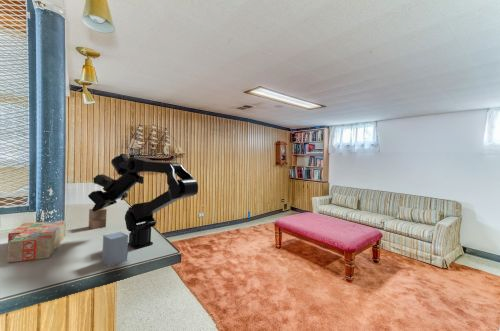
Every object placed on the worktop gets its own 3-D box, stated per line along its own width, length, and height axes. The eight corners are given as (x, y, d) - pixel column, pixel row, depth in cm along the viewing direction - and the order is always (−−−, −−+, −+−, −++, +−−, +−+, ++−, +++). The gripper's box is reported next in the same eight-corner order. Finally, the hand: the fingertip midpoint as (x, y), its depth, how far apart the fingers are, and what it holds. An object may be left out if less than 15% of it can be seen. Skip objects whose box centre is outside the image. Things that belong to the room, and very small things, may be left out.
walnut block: (101, 224, 105) (101, 207, 105) (105, 226, 102) (106, 209, 102) (88, 226, 101) (89, 209, 101) (93, 229, 98) (93, 211, 98)
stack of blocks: (50, 238, 69) (-8, 243, 63) (49, 258, 69) (-8, 265, 63) (66, 220, 88) (23, 223, 82) (65, 236, 88) (22, 240, 82)
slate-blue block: (119, 256, 73) (120, 231, 73) (126, 260, 71) (128, 235, 70) (102, 261, 69) (103, 235, 69) (109, 266, 66) (110, 239, 66)
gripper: (121, 166, 95) (92, 191, 95) (95, 168, 77) (59, 199, 76) (139, 186, 96) (111, 211, 95) (118, 192, 78) (83, 223, 77)
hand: (93, 210), depth 86 cm, fingers closed
